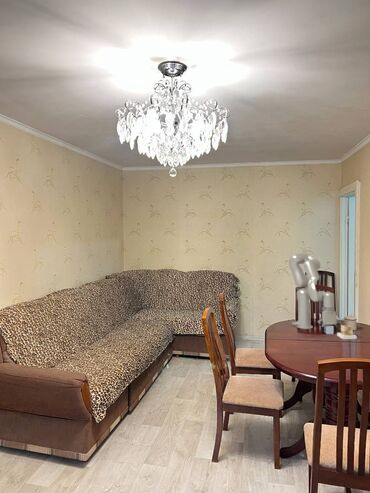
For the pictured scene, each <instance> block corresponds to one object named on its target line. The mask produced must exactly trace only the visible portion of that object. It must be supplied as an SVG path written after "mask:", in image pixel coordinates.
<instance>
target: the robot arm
mask: <svg viewBox="0 0 370 493" xmlns="http://www.w3.org/2000/svg"><path fill="white" fill-rule="evenodd" d="M288 265H289V268H290V271H291V273H292V276H293V277H292V278H293V280H294V284H295V286H296V287H297V288H300V289H298V290H297V292H296V297H297V298H296V299H297V311H298V314H297V315H298V316H297V317H298V318H297V319H298V320H297V321H292V322H291V323H292V324H291V325H295V326H296V327H297V328H298V329H302V330H303V329H304V330H305V329H306V330H309V329H313V328H314V327H313V326H314V325H312V324H311V320H312V319H311V318H312V316H311V315H312V314H311V310H312V309H311V307H312V306H311V302H310V300H311V301H313V302H315V303H317V302H323V307H321V310H322V312H321V318H320V319H318V320H317V323H318V325H319V326H320V328H321V329H320V330H321V332H322V333H325V332H324V325H333V326H334V333H337V330H338V326H339V325H340V324H341V323H340V321H341V320H339V319H338V318H337V313H336V310H335V293H333V292H328V291H323V290H321V291H320V290H319V291H317V288H316V283H317V282H318V280H319V279H320V275H319V272H318V270H319V269H320V268H321V262H320V261H319V260H318V259H317V258H316V257H314V256H311V255H310V254H308V253H294V254H292V255H291V256H289V260H288ZM300 265H303V268H304V271H305V273H306V274H304V271H303V268H302V267H301V266H300Z"/></svg>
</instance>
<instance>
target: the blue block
mask: <svg viewBox="0 0 370 493" xmlns="http://www.w3.org/2000/svg"><path fill="white" fill-rule="evenodd" d="M323 333H324V334H326V335H334V333H335V332H334V325H333V324H329V325H327V324H325V325H324V332H323Z"/></svg>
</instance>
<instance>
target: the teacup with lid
mask: <svg viewBox="0 0 370 493" xmlns="http://www.w3.org/2000/svg"><path fill="white" fill-rule="evenodd" d="M339 321H340V323H339V324H340V326H341V325H350V326H351V327H353V330H355V331H356V330H357V317H355V316H353V315H352V314H349V315H347V316H344V318H343V319H341V320H339ZM342 321H344V322H343V323H344V324H343V323H342Z"/></svg>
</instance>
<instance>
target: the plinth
mask: <svg viewBox="0 0 370 493" xmlns="http://www.w3.org/2000/svg"><path fill="white" fill-rule="evenodd" d="M336 336H337V337H339V338H340V339H341V340H357V339H358V336H357V335H356V334H354V333H353V335H348V336H344V335H343V334H341V332H336Z"/></svg>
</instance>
